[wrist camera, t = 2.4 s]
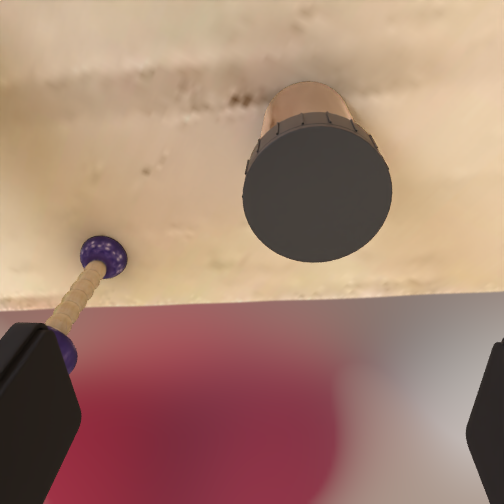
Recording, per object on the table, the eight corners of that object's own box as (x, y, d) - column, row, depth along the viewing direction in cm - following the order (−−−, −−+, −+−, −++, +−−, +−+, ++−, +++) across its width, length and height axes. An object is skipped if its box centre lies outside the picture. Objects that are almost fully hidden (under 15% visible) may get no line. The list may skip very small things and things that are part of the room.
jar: (258, 162, 36) (245, 242, 25) (269, 75, 32) (260, 123, 21) (339, 173, 36) (363, 257, 25) (359, 87, 32) (397, 141, 21)
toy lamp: (87, 224, 40) (-25, 358, 25) (137, 241, 40) (56, 382, 26) (78, 265, 42) (-28, 410, 28) (126, 281, 43) (47, 431, 28)
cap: (239, 230, 27) (235, 254, 24) (254, 100, 23) (251, 114, 21) (363, 246, 27) (370, 272, 24) (399, 120, 23) (413, 136, 21)
